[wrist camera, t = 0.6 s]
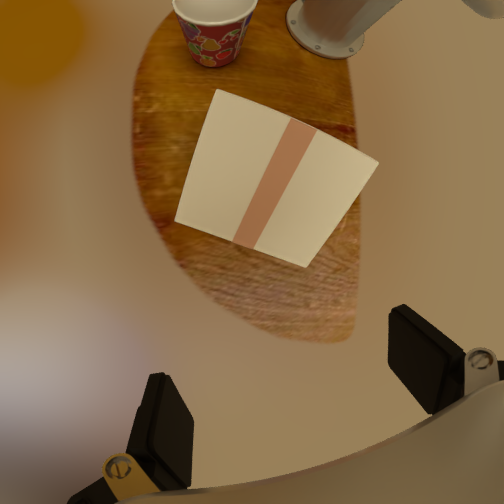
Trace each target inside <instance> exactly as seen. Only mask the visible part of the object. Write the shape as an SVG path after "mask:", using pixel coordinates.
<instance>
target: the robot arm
mask: <svg viewBox="0 0 504 504" xmlns="http://www.w3.org/2000/svg"><path fill="white" fill-rule="evenodd" d="M400 1H401V0H297V1H295V2H294V3H293V4H292V5H291V6H290V8H289V10H288V12H287V16H286V24H287V27H288V30H289V31H290V33H291V35H292V36H293V37H294V39H295V40H296V41H297V42H298V43H299V44H300V45H302V46H303V47H304V48H306V49H307V50H309V51H311V52H313V53H315V54H317V55H319V56H322V57H326V58H330V59H345V58H348V57H351V56H353V55H354V54H356V53H357V52H358V51H359V50H360V49H361V47H362V46H363V43H364V32H365V31H366V30H367V29H368V28H370V26H372V25H373V24H374V23H375V22H376V21H378V20H379V19H380V18H381V17H382V16H383V15H384V14H386V13H387V12H388V11H389V10H390V9H391V8H393V7H394V6H395V5H396V4H398V3H399V2H400ZM462 1H463V2H464V3H465V4H466V5H467V6H469V7H470V8H471V9H473V10H474V11H475V12H476V13H478V14H479V15H481V16H484V17H486V18H490V19H500V18H504V0H462ZM388 364H389V367H390V368H391V370H392V371H393V372H394V373H395V374H396V376H397V377H398V378H399V379H400V380H401V382H402V383H403V384H404V385H405V386H406V387H407V389H408V390H409V391H410V393H411V394H412V395H413V396H414V397H415V399H416V400H417V401H418V402H419V404H420V405H421V406H422V407H423V409H424V410H425V411H426V412H427V413H428V414H432V416H431V417H429V418H427V419H425V420H424V421H422V422H420V423H418V424H416V425H414V426H412V427H411V428H409V429H407V430H405V431H403V432H401V433H399V434H397V435H395V436H393V437H390V438H388V439H386V440H384V441H382V442H380V443H377V444H375V445H373V446H370V447H368V448H365V449H363V450H361V451H358V452H356V453H353V454H351V455H348V456H345V457H342V458H340V459H337V460H334V461H331V462H328V463H325V464H321V465H318V466H315V467H312V468H308V469H305V470H301V471H297V472H294V473H289V474H285V475H281V476H277V477H272V478H268V479H263V480H258V481H252V482H246V483H240V484H233V485H226V486H218V487H209V488H199V489H187V487H190V486H191V474H192V451H193V433H194V420H193V417H192V415H191V413H190V412H189V410H188V408H187V406H186V405H185V403H184V401H183V400H182V397H181V396H180V394H179V392H178V390H177V388H176V386H175V385H174V383H173V381H172V379H171V377H170V376H169V375H165V373H163V372H161V373H155V374H150V376H149V379H148V382H147V385H146V388H145V392H144V395H143V399H142V402H141V405H140V406H139V407H138V409H137V412H136V416H135V419H134V423H133V427H132V430H131V434H130V438H129V441H128V446H127V449H126V453H118V454H114V455H112V456H110V457H109V458H108V459H106V461H105V462H104V464H103V466H102V474H103V477H102V478H100V479H99V480H97V481H96V482H94V483H93V484H91V485H90V486H88V487H86V488H85V489H83V490H81V491H80V492H78V493H77V494H75V495H73V496H72V497H71V498H70V499H69V501H68V502H67V504H504V361H497V358H496V355H495V354H494V353H493V352H492V351H491V350H489V349H486V348H474V349H472V350H470V351H469V352H468V353H467V354H466V353H465V352H463V349H462V348H460V347H459V346H458V345H457V344H456V343H454V342H453V341H452V340H451V339H449V338H448V337H447V336H446V335H444V334H443V333H442V332H441V331H439V330H438V329H437V328H436V327H434V326H433V325H432V324H430V323H429V322H428V321H427V320H425V319H424V318H423V317H421V316H420V315H419V314H417V313H416V312H415V311H414V310H412V309H411V308H410V307H408V306H407V305H405V304H402V305H400V306H397V307H394V308H393V309H392V310H391V313H389V333H388Z"/></svg>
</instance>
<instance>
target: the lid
mask: <svg viewBox="0 0 504 504" xmlns="http://www.w3.org/2000/svg"><path fill="white" fill-rule="evenodd" d="M378 164H379V162H378V161H376V160H374V159H373V158H371V157H369V156H368V155H366V154H364V153H362V152H361V151H359V150H357V149H355V148H353V147H352V146H350V145H348V144H346V143H344V142H342V141H340V140H338V139H336V138H334V137H333V136H331V135H329V134H327V133H325V132H323V131H320V130H318V129H316V128H314V127H312V126H310V125H308V124H306V123H304V122H301V121H299V120H297V119H295V118H293V117H290V116H288V115H286V114H283V113H281V112H279V111H276V110H274V109H271V108H269V107H266V106H264V105H261V104H259V103H256V102H254V101H251V100H248V99H246V98H243V97H240V96H237V95H234V94H232V93H229V92H226V91H223V90H220V89H216V92H215V94H214V97H213V100H212V102H211V105H210V108H209V111H208V113H207V116H206V119H205V122H204V125H203V128H202V131H201V134H200V137H199V140H198V143H197V146H196V149H195V152H194V155H193V158H192V161H191V165H190V168H189V171H188V174H187V178H186V181H185V185H184V188H183V192H182V195H181V199H180V202H179V206H178V210H177V213H176V217H175V222H178V223H181V224H184V225H187V226H190V227H192V228H195V229H198V230H201V231H204V232H207V233H209V234H212V235H215V236H218V237H221V238H223V239H226V240H229V241H232V242H233V243H236V244H239V245H241V246H244V247H247V248H250V249H254V250H257V251H260V252H263V253H266V254H269V255H271V256H274V257H277V258H280V259H283V260H285V261H288V262H291V263H294V264H297V265H299V266H302V267H305V268H306V267H307V266H308V265H309V263H310V262H311V260H312V259H313V258H314V256H315V255H316V254H317V252H318V251H319V250H320V248H321V247H322V245H323V244H324V243H325V241H326V240H327V239H328V237H329V236H330V234H331V233H332V232H333V230H334V229H335V227H336V226H337V225H338V223H339V222H340V220H341V219H342V217H343V216H344V215H345V213H346V212H347V210H348V209H349V207H350V206H351V205H352V203H353V202H354V200H355V199H356V197H357V196H358V194H359V193H360V191H361V190H362V188H363V187H364V185H365V184H366V182H367V181H368V179H369V178H370V176H371V175H372V173H373V172H374V170H375V169H376V167H377V166H378Z"/></svg>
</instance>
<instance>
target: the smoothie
mask: <svg viewBox="0 0 504 504" xmlns="http://www.w3.org/2000/svg"><path fill="white" fill-rule="evenodd" d="M257 2H258V0H172V6H173V8H174V10H175V12H176V15H177V18H178V20H179V23H180V26H181V28H182V31H183V34H184V37H185V39H186V42H187V45H188V48H189V50H190V53H191V55H192V57H193V59H194V60H195V61H197V62H198V63H200V64H202V65H204V66H209V67H220V66H223V65H226V64H228V63H230V62H231V61H233V60H234V59H235V58H236V57H237V55H238V54H239V51H240V48H241V45H242V42H243V39H244V36H245V33H246V30H247V27H248V24H249V22H250V19H251V16H252V13H253V10H254V9H255V7H256V4H257Z"/></svg>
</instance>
